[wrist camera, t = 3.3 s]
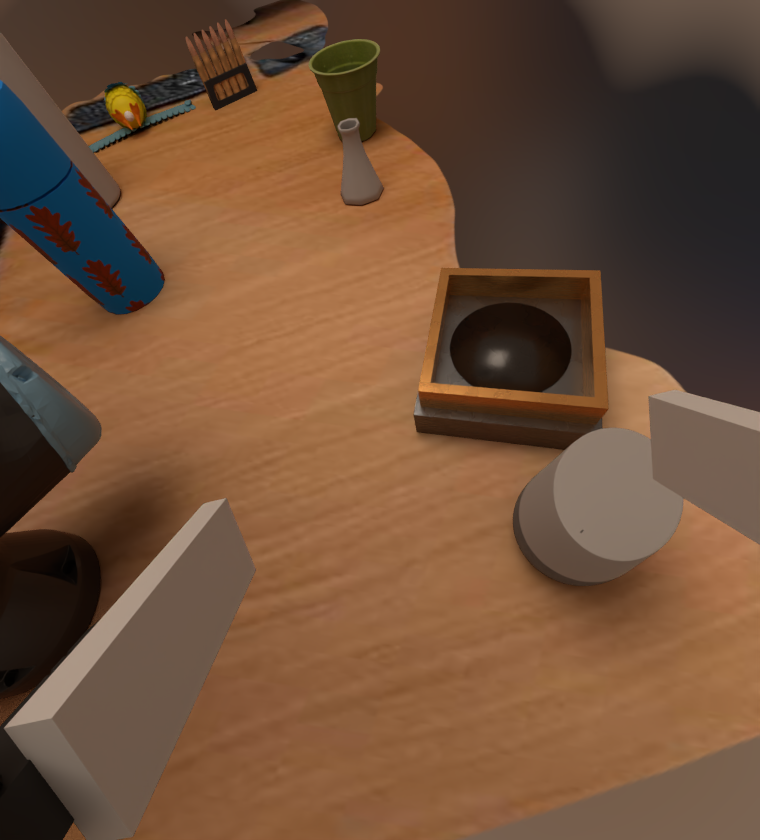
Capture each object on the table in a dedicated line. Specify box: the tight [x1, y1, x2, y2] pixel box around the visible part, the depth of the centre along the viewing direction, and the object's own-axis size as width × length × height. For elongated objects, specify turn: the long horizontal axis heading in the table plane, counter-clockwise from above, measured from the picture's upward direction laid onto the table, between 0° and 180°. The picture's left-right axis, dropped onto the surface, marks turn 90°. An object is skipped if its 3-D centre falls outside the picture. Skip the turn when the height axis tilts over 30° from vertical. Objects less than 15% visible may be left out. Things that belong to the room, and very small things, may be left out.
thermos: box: [0, 80, 165, 314], centre depth 49 cm, size 11×11×25 cm
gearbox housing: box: [414, 268, 608, 450], centre depth 40 cm, size 18×17×7 cm
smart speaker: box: [513, 428, 683, 586], centre depth 28 cm, size 10×9×14 cm
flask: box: [337, 118, 384, 205], centre depth 58 cm, size 7×7×10 cm
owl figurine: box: [89, 82, 196, 153], centre depth 85 cm, size 28×9×15 cm
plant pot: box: [309, 39, 380, 141], centre depth 66 cm, size 12×12×11 cm
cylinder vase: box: [0, 32, 120, 208], centre depth 64 cm, size 12×12×25 cm
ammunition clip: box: [186, 20, 257, 110], centre depth 81 cm, size 11×2×12 cm, turn 121°
